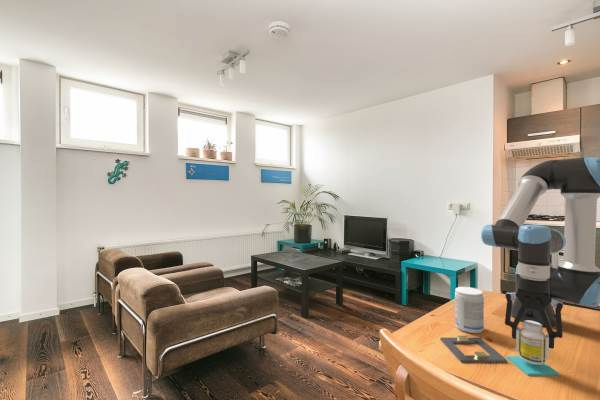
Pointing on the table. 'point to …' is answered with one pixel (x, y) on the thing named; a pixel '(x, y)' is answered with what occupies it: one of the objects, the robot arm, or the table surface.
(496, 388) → the table surface
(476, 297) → the supplement tub
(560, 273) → the robot arm
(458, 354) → the socket plate
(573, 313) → the table surface
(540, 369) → the coaster
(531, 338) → the pill bottle
